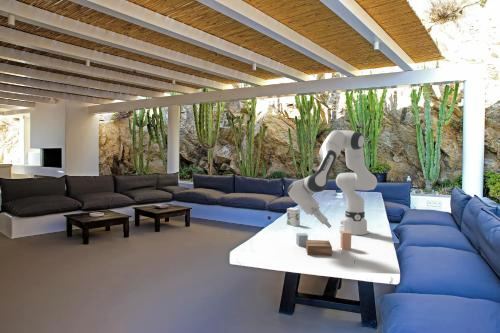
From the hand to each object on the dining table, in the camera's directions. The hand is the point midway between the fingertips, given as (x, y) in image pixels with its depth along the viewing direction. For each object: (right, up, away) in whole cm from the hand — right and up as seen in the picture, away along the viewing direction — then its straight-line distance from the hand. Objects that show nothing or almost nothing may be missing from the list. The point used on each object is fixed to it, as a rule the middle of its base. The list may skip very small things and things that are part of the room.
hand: (328, 225), depth 185 cm
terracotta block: (+9, -13, 0) cm, 16 cm away
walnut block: (-7, -13, -7) cm, 17 cm away
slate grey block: (-14, -12, +6) cm, 19 cm away
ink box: (-12, -10, +59) cm, 61 cm away
